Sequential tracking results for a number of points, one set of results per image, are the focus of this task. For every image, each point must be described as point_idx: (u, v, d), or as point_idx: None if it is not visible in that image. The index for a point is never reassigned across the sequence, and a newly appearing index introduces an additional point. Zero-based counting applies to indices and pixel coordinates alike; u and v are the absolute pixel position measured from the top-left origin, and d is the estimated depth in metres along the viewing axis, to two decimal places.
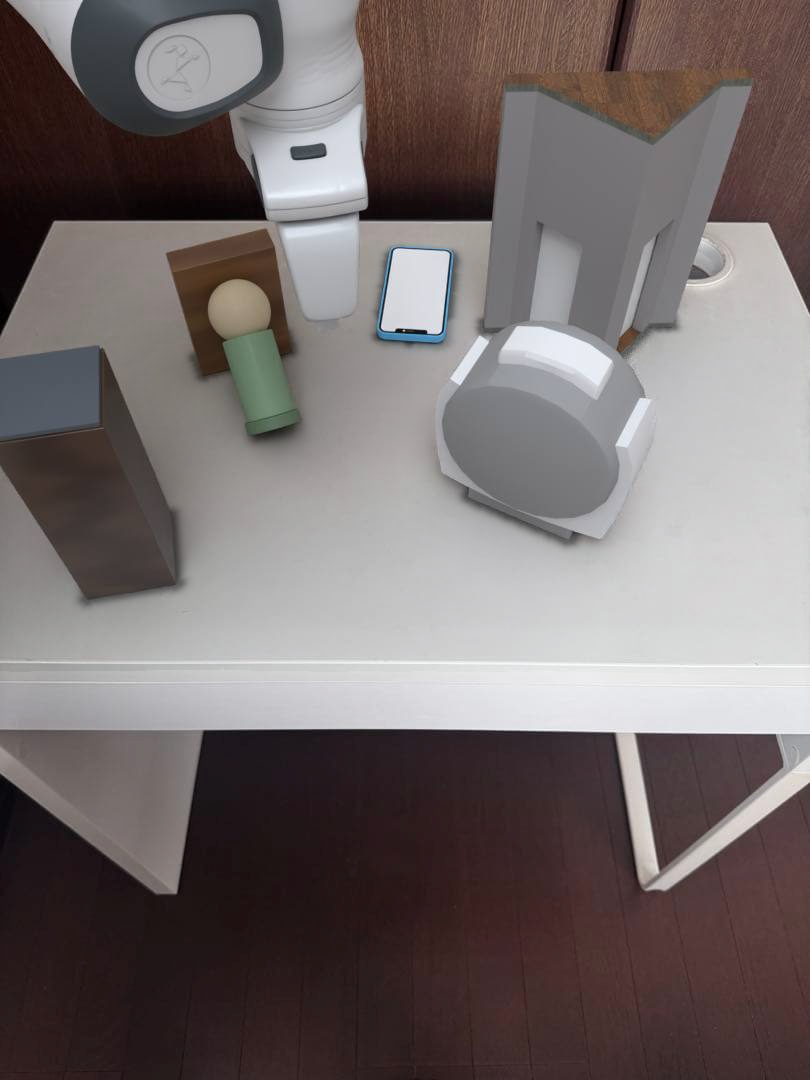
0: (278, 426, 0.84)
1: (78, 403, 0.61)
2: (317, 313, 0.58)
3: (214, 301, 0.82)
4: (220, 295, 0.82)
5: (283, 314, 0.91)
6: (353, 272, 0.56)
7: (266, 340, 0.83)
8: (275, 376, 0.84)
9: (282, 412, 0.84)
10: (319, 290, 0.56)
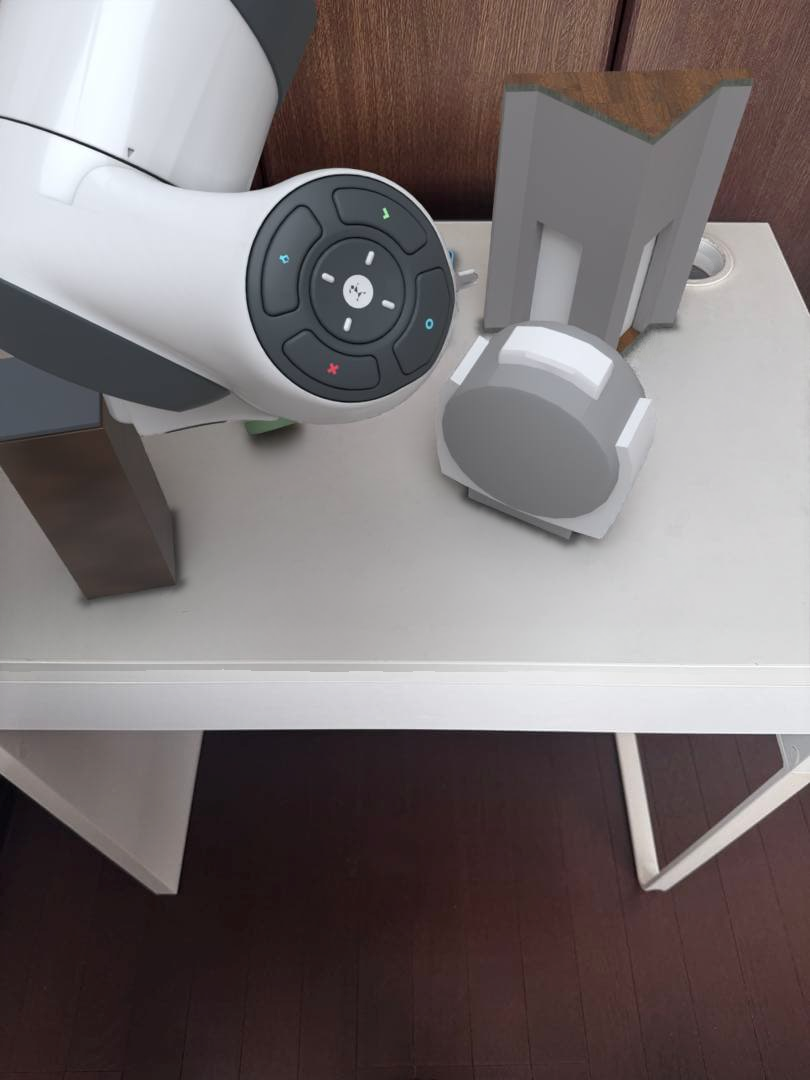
0: (278, 426, 0.84)
1: (78, 403, 0.61)
2: None
3: None
4: None
5: None
6: (111, 414, 0.45)
7: None
8: None
9: None
10: None
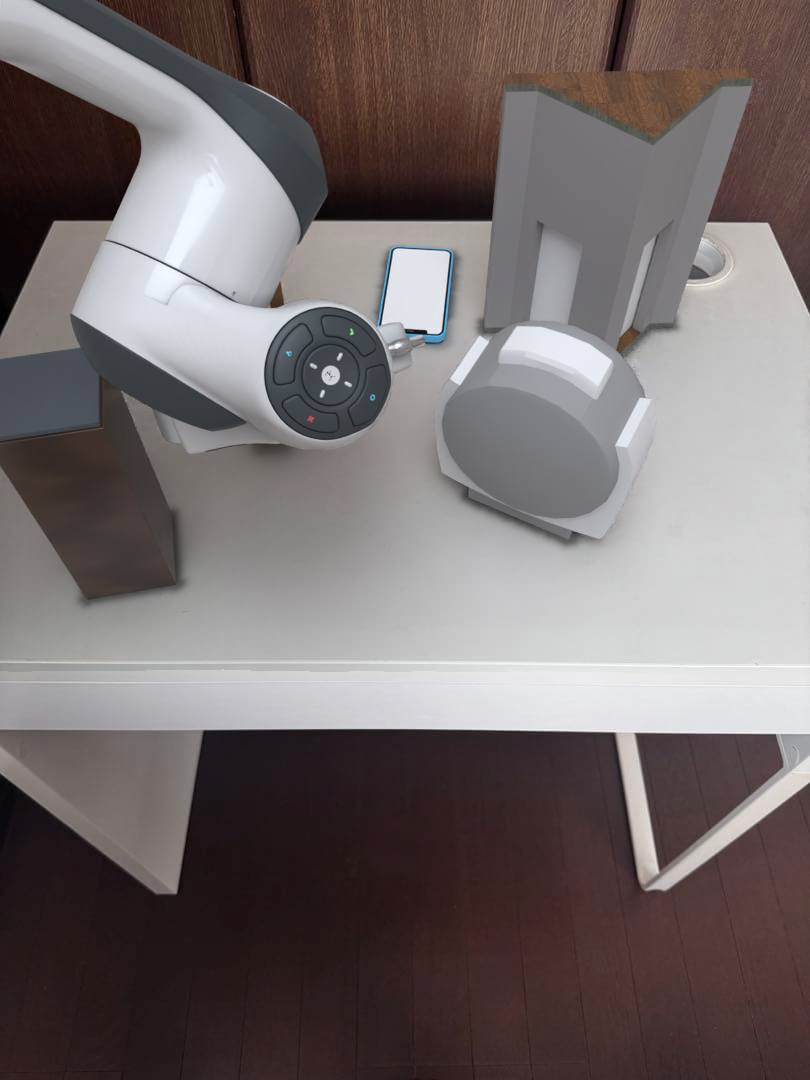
0: None
1: (78, 403, 0.61)
2: None
3: None
4: None
5: None
6: (164, 437, 0.64)
7: None
8: None
9: None
10: None
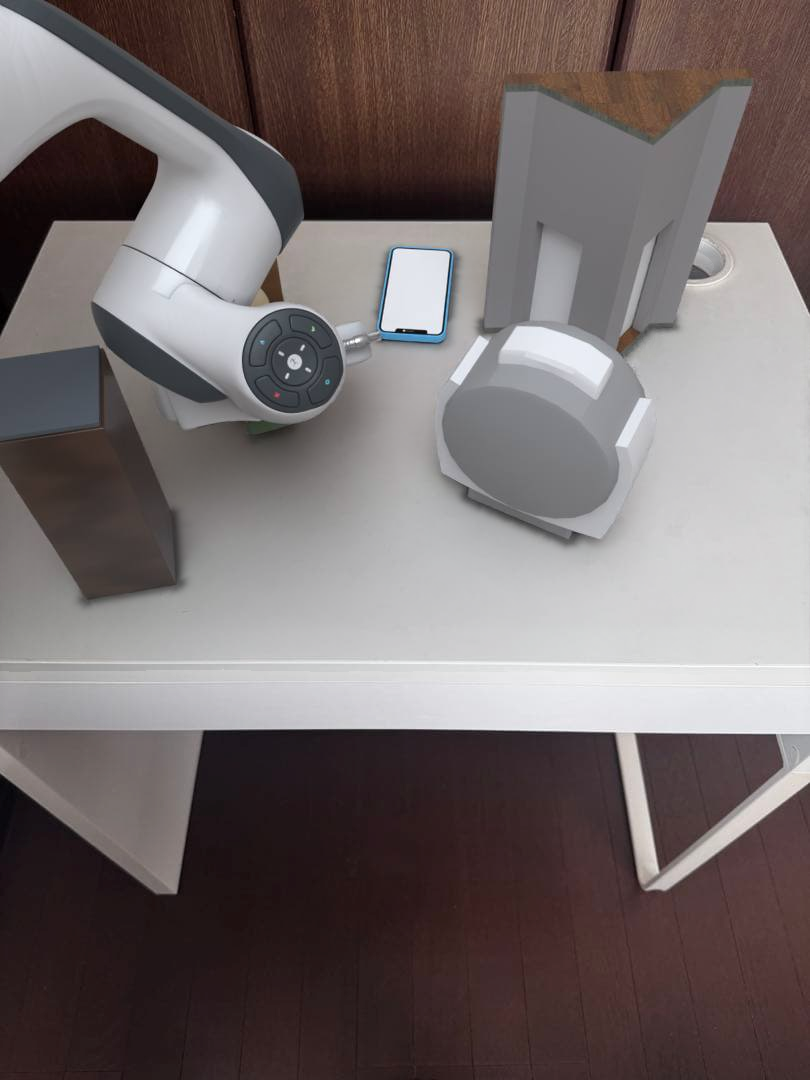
0: (278, 426, 0.84)
1: (78, 403, 0.61)
2: None
3: None
4: None
5: None
6: (163, 416, 0.76)
7: None
8: None
9: None
10: (153, 391, 0.77)
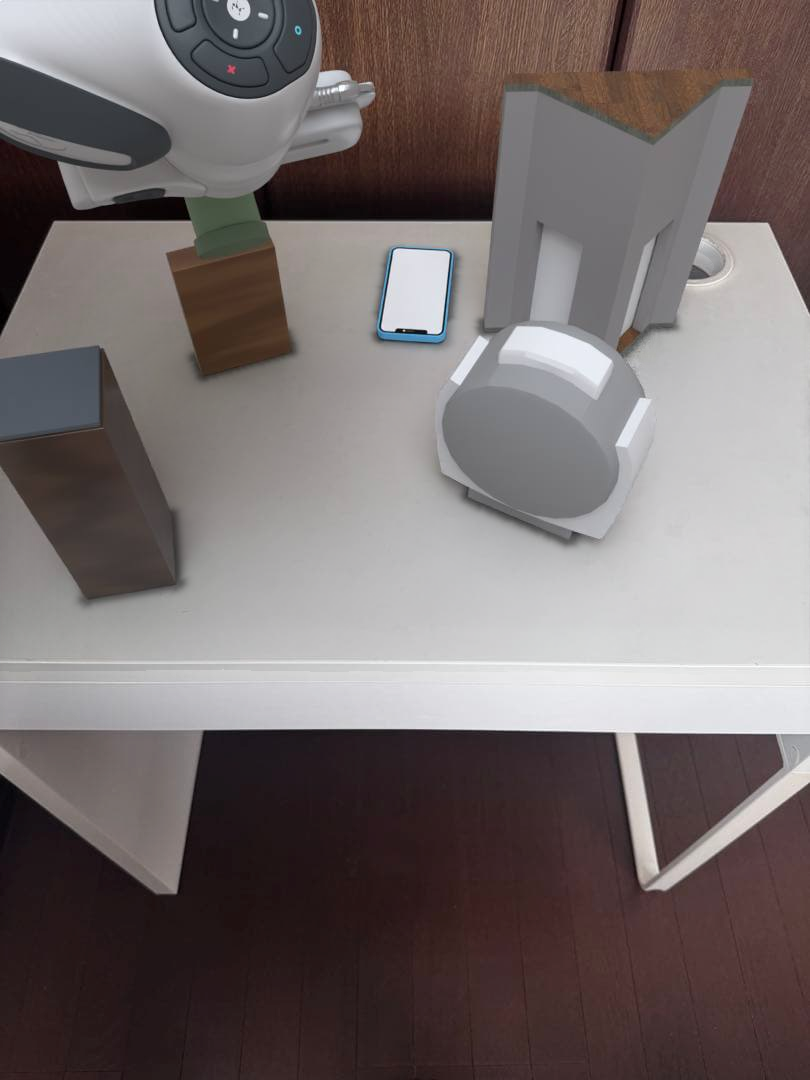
0: (237, 239, 0.63)
1: (78, 403, 0.61)
2: None
3: None
4: None
5: (283, 314, 0.91)
6: (73, 199, 0.55)
7: None
8: None
9: (243, 221, 0.63)
10: (59, 166, 0.56)
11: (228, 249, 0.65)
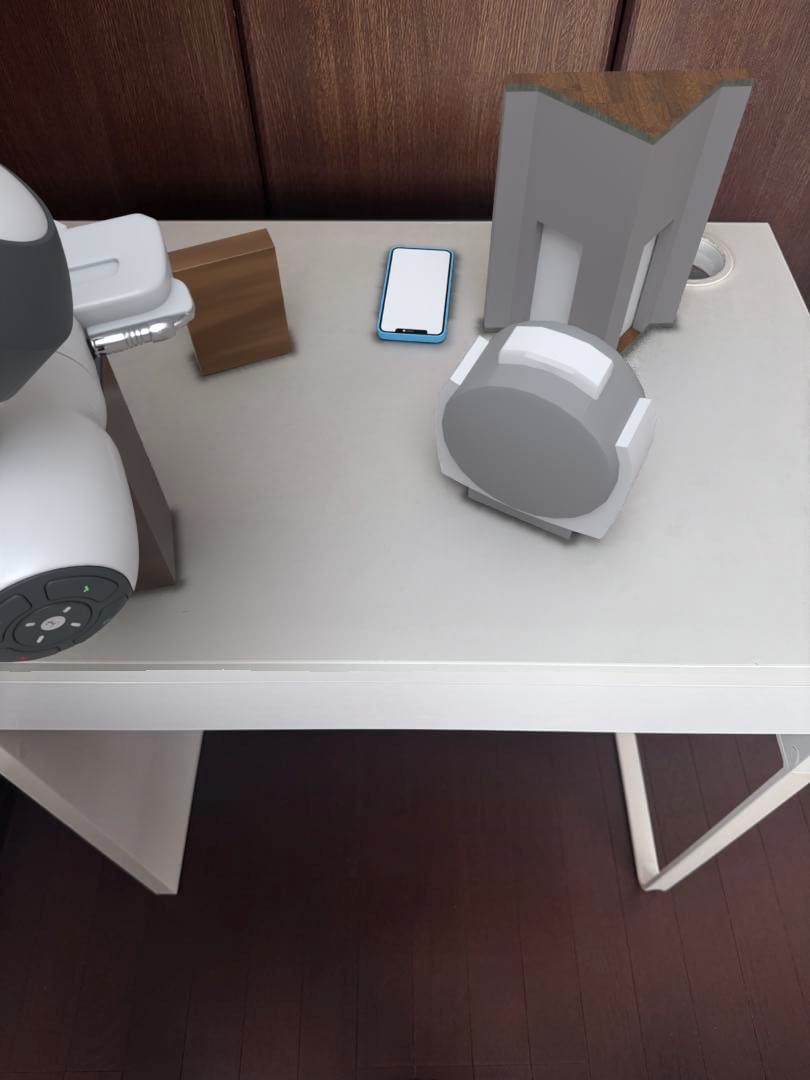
0: None
1: None
2: None
3: None
4: None
5: (283, 314, 0.91)
6: None
7: None
8: None
9: None
10: None
11: None
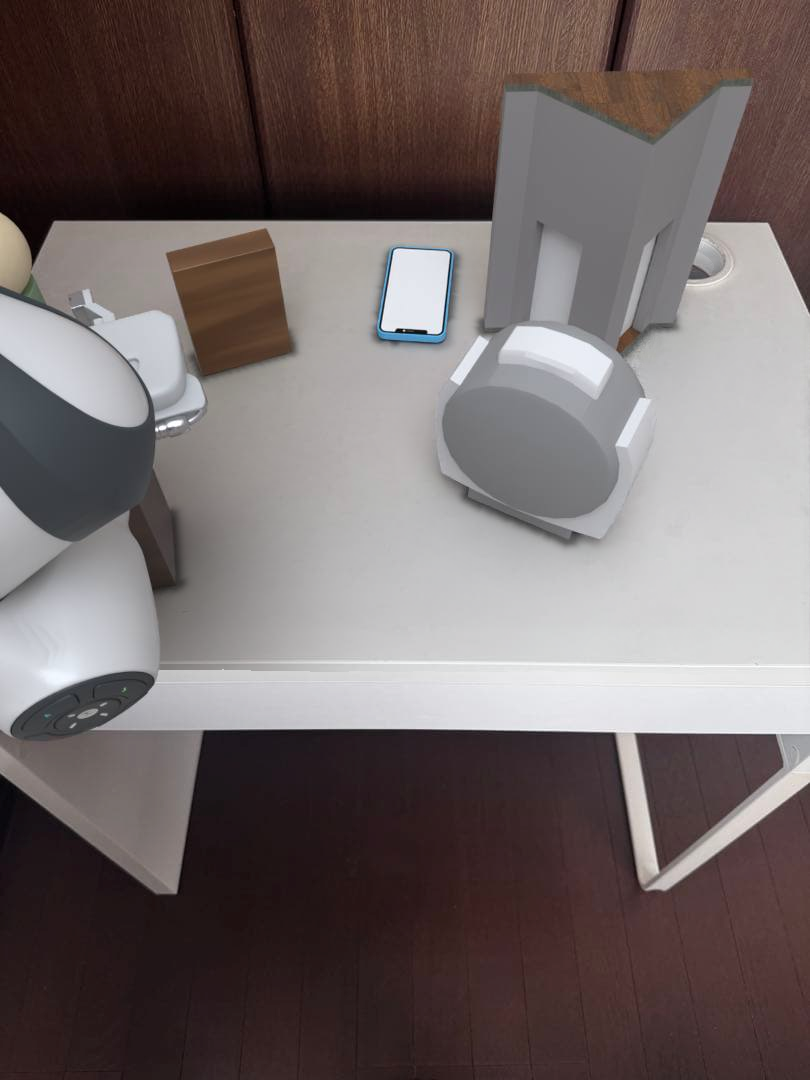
0: None
1: None
2: None
3: None
4: None
5: (283, 314, 0.91)
6: None
7: None
8: None
9: None
10: None
11: None
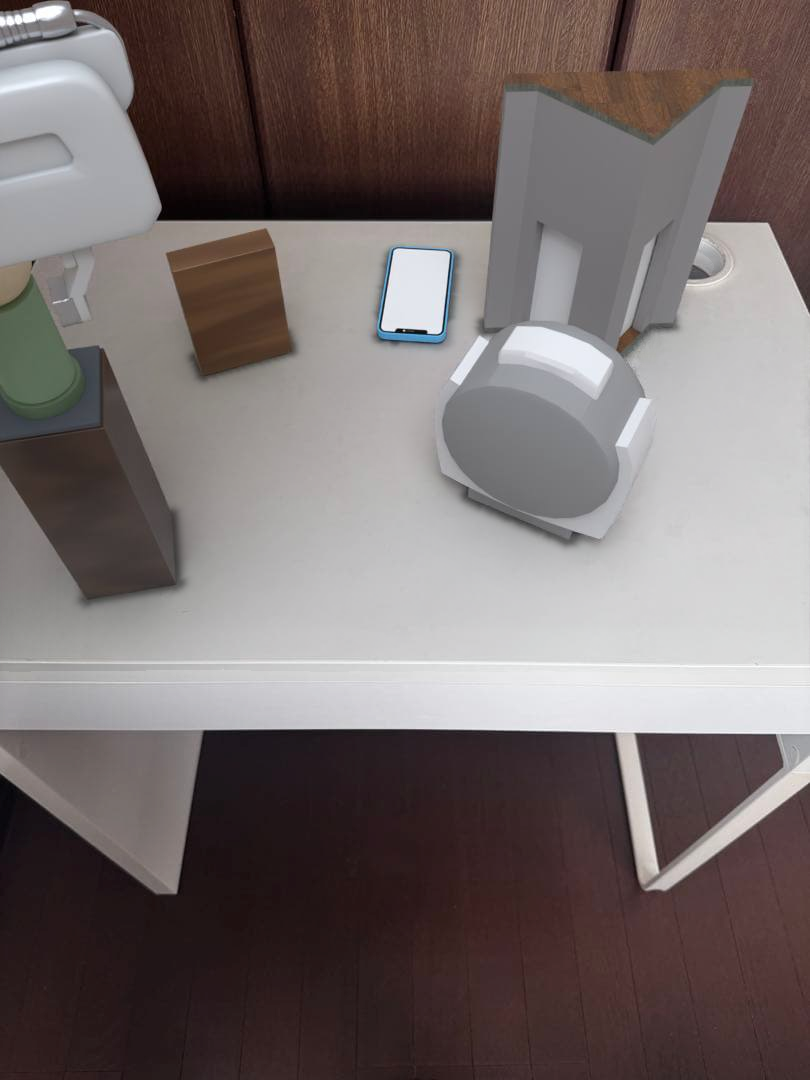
0: (52, 415, 0.61)
1: (78, 403, 0.61)
2: None
3: None
4: None
5: (283, 314, 0.91)
6: None
7: (28, 314, 0.55)
8: (43, 356, 0.57)
9: (57, 396, 0.60)
10: None
11: None
